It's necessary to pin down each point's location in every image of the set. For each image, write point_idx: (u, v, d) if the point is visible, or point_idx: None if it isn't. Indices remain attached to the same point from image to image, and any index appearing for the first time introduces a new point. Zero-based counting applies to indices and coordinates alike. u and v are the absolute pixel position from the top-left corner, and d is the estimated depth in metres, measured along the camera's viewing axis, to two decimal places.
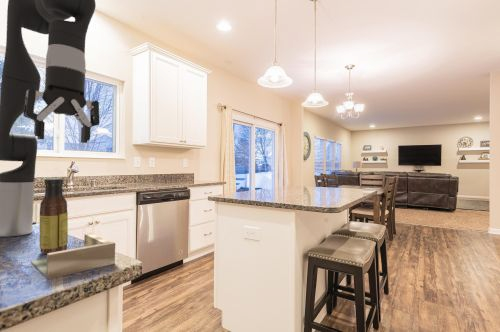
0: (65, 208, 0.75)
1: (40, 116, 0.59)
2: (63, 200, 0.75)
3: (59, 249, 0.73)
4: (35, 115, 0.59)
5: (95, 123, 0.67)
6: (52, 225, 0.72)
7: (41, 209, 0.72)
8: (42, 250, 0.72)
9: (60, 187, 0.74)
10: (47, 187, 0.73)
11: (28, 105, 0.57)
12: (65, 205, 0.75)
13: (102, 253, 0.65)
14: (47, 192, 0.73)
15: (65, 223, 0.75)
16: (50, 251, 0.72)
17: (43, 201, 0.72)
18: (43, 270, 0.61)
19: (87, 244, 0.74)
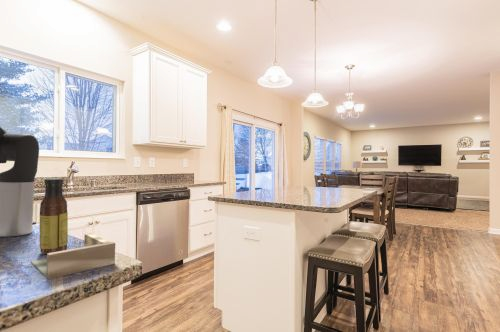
0: (65, 208, 0.75)
1: None
2: (63, 200, 0.75)
3: (59, 249, 0.73)
4: None
5: None
6: (52, 225, 0.72)
7: (41, 209, 0.72)
8: (42, 250, 0.72)
9: (60, 187, 0.74)
10: (47, 187, 0.73)
11: None
12: (65, 205, 0.75)
13: (102, 253, 0.65)
14: (47, 192, 0.73)
15: (65, 223, 0.75)
16: (50, 251, 0.72)
17: (43, 201, 0.72)
18: (43, 270, 0.61)
19: (87, 244, 0.74)
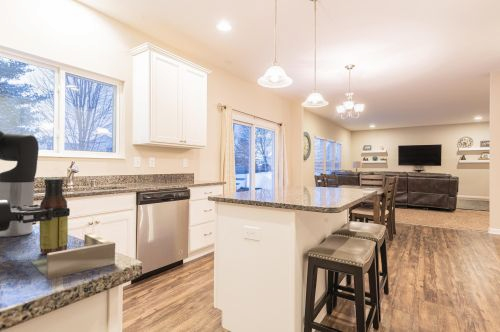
0: None
1: None
2: (63, 200, 0.75)
3: (59, 249, 0.73)
4: None
5: None
6: (52, 225, 0.72)
7: None
8: (42, 250, 0.72)
9: (60, 187, 0.74)
10: (47, 187, 0.73)
11: None
12: (65, 205, 0.75)
13: (102, 253, 0.65)
14: (47, 192, 0.73)
15: (65, 223, 0.75)
16: (50, 251, 0.72)
17: (43, 201, 0.72)
18: (43, 270, 0.61)
19: (87, 244, 0.74)
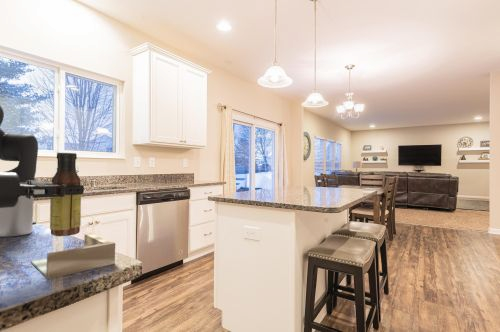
0: None
1: None
2: (76, 177, 0.67)
3: (71, 231, 0.66)
4: None
5: None
6: (65, 203, 0.65)
7: None
8: (53, 231, 0.65)
9: (73, 162, 0.67)
10: (59, 161, 0.66)
11: None
12: (79, 182, 0.68)
13: (102, 253, 0.65)
14: (59, 167, 0.66)
15: (78, 202, 0.67)
16: (62, 232, 0.65)
17: (55, 177, 0.65)
18: (43, 270, 0.61)
19: (87, 244, 0.74)
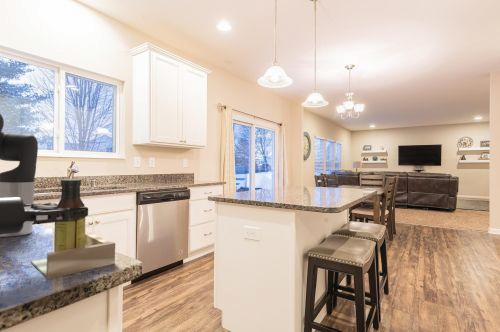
0: None
1: None
2: (81, 204, 0.66)
3: None
4: None
5: None
6: (69, 232, 0.64)
7: None
8: None
9: (78, 189, 0.66)
10: (64, 189, 0.64)
11: None
12: None
13: (102, 253, 0.65)
14: (64, 195, 0.64)
15: (83, 230, 0.66)
16: None
17: (59, 205, 0.64)
18: (43, 270, 0.61)
19: (87, 244, 0.74)
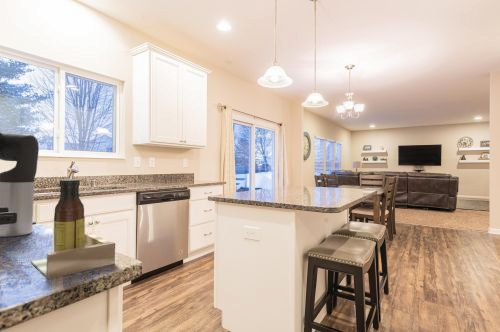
0: (82, 213, 0.66)
1: None
2: (80, 204, 0.66)
3: None
4: None
5: None
6: (69, 232, 0.64)
7: (56, 214, 0.64)
8: None
9: (77, 189, 0.66)
10: (62, 189, 0.64)
11: None
12: (82, 209, 0.66)
13: (102, 253, 0.65)
14: (62, 195, 0.64)
15: (82, 230, 0.66)
16: None
17: (58, 205, 0.64)
18: (43, 270, 0.61)
19: (87, 244, 0.74)
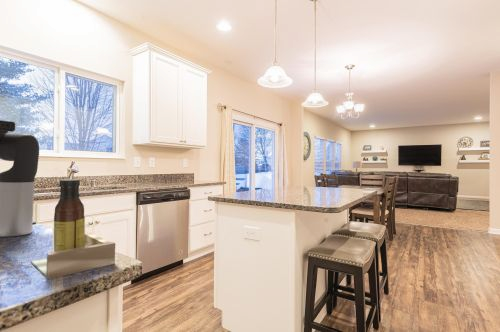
0: (82, 213, 0.66)
1: None
2: (80, 204, 0.66)
3: None
4: None
5: None
6: (69, 232, 0.64)
7: (56, 214, 0.64)
8: None
9: (77, 189, 0.66)
10: (62, 189, 0.64)
11: None
12: (82, 209, 0.66)
13: (102, 253, 0.65)
14: (62, 195, 0.64)
15: (82, 230, 0.66)
16: None
17: (58, 205, 0.64)
18: (43, 270, 0.61)
19: (87, 244, 0.74)
